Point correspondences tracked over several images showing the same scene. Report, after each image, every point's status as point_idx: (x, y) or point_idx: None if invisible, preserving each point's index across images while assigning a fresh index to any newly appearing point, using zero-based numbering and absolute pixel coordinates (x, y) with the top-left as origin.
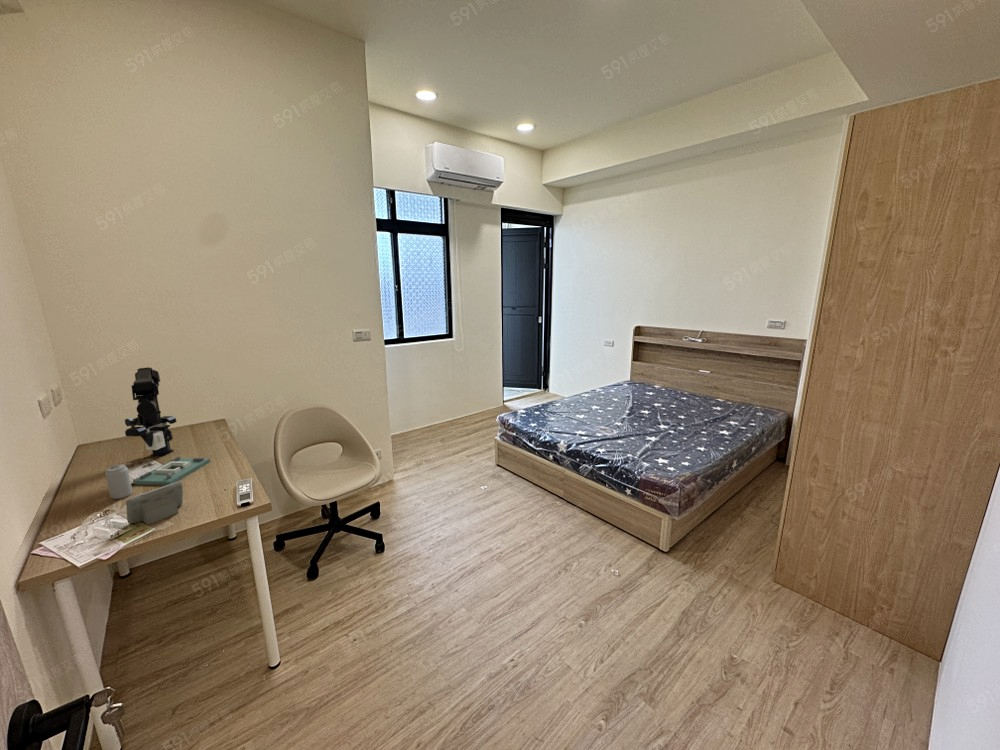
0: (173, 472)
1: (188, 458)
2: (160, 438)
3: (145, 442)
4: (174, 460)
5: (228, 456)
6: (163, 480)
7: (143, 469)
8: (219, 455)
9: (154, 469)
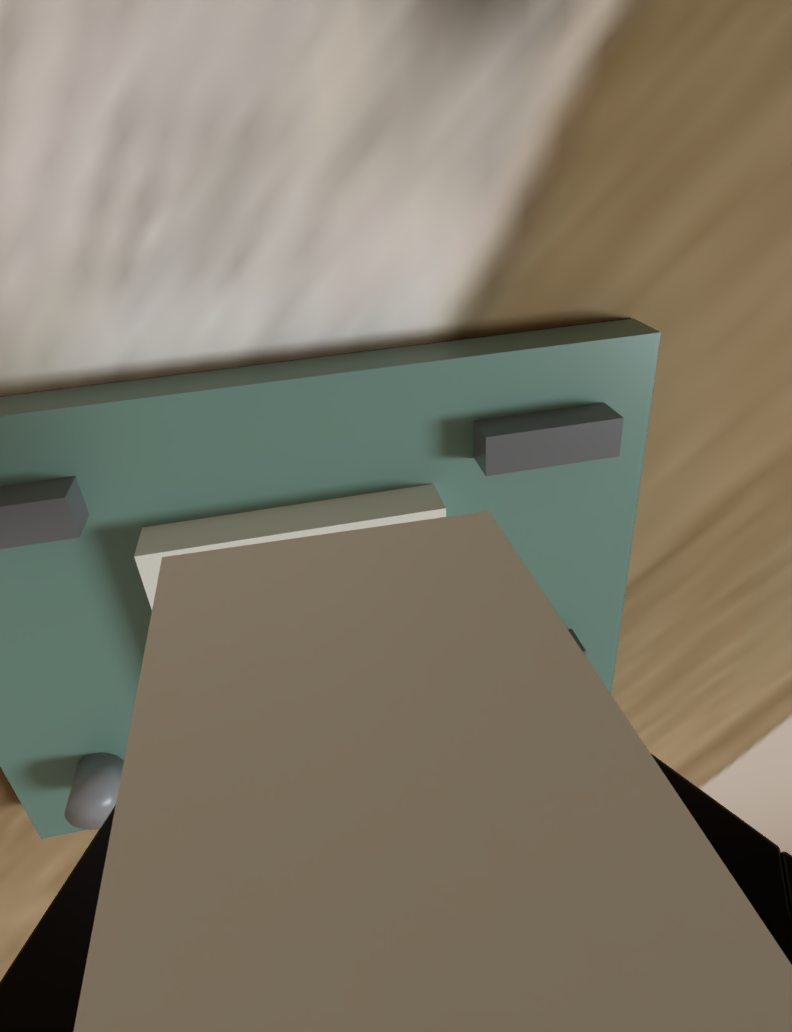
0: None
1: (626, 516)
2: None
3: (131, 773)
4: (514, 466)
5: (706, 733)
6: (27, 770)
7: (305, 11)
8: (745, 649)
9: (238, 391)
